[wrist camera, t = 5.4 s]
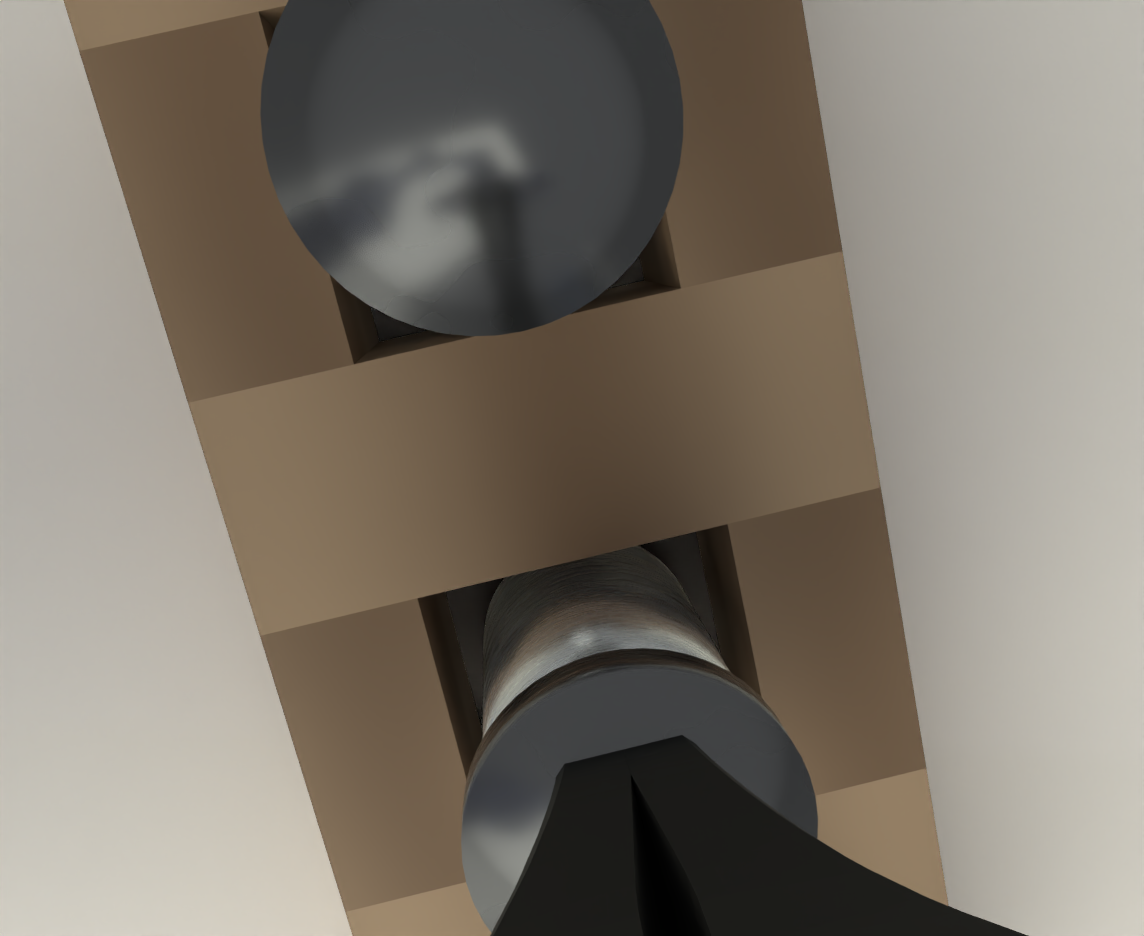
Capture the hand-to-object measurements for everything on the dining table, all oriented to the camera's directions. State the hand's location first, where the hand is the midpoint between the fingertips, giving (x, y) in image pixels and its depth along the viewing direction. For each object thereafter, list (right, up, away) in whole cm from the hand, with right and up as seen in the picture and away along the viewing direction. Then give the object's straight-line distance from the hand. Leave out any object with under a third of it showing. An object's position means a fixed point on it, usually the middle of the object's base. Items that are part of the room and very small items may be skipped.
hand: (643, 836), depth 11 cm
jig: (0, +1, +6) cm, 6 cm away
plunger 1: (-2, +8, +4) cm, 9 cm away
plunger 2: (0, +1, +5) cm, 6 cm away
